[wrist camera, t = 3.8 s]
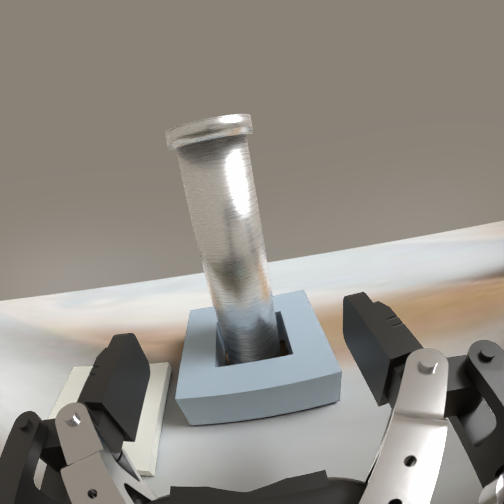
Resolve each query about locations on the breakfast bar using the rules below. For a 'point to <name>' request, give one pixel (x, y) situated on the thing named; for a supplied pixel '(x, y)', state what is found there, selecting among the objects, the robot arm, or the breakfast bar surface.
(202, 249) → the steel pin
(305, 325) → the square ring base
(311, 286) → the breakfast bar surface
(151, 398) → the felt pad
